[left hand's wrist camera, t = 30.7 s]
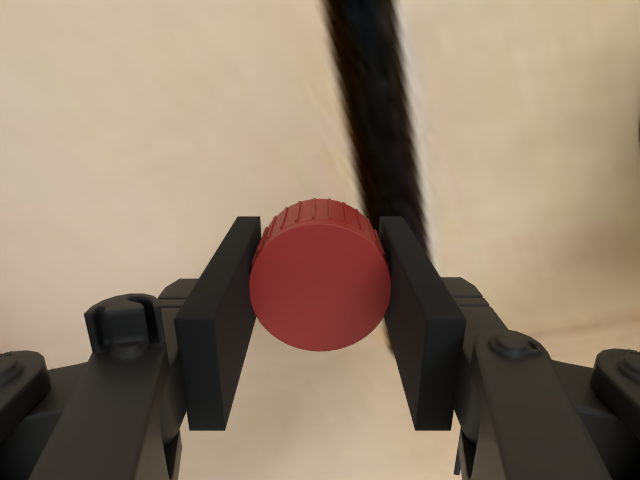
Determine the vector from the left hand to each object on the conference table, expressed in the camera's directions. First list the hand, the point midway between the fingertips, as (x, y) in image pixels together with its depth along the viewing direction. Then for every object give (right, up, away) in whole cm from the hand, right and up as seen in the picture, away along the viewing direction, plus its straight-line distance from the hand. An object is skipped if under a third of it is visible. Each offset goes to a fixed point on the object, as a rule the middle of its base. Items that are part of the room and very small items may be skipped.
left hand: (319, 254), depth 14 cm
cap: (0, -1, -2) cm, 2 cm away
